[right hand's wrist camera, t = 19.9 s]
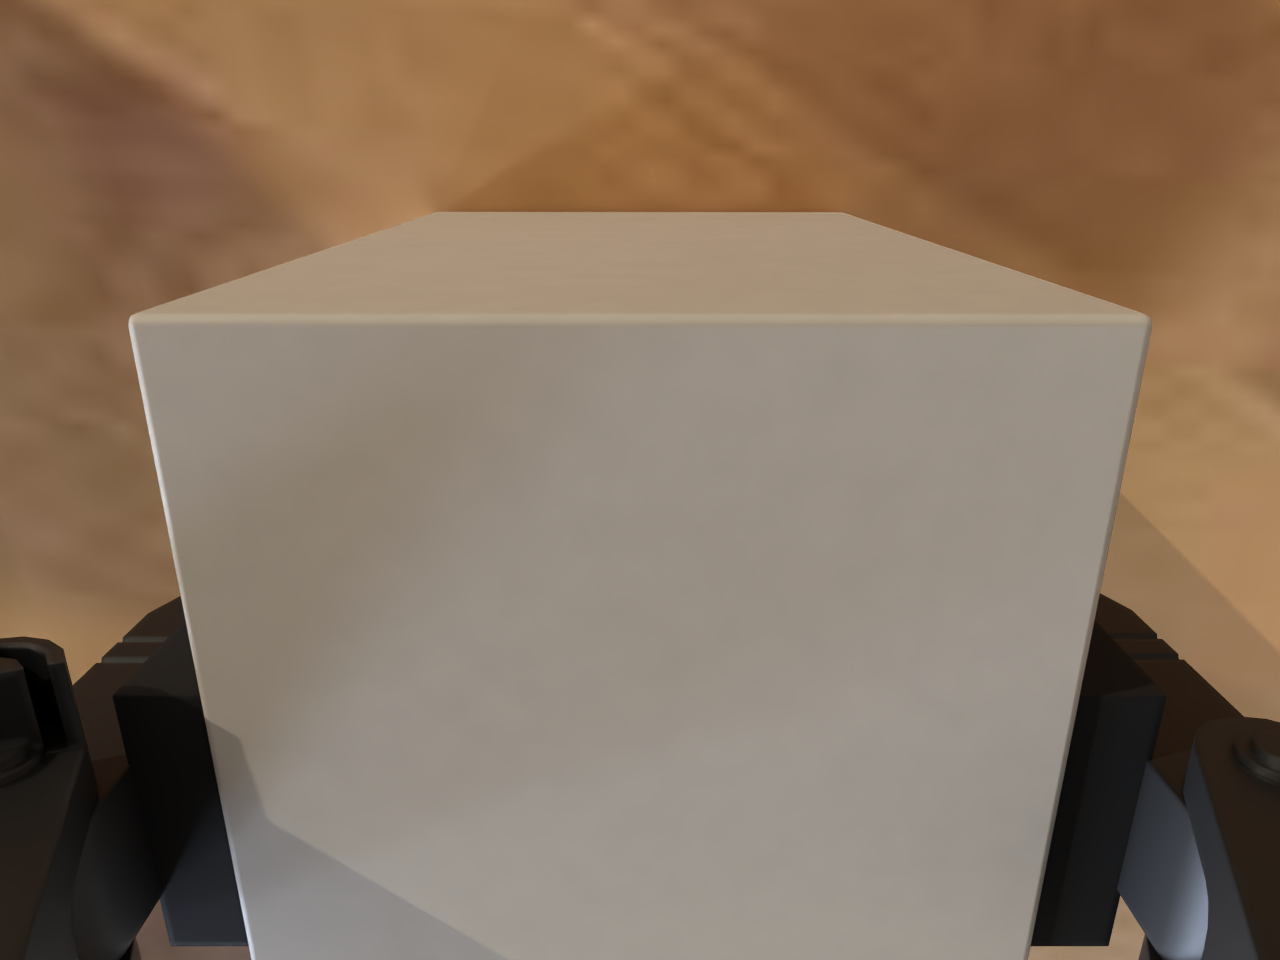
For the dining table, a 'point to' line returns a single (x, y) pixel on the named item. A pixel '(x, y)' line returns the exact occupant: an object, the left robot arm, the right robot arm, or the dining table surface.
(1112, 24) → the dining table surface
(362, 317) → the block
